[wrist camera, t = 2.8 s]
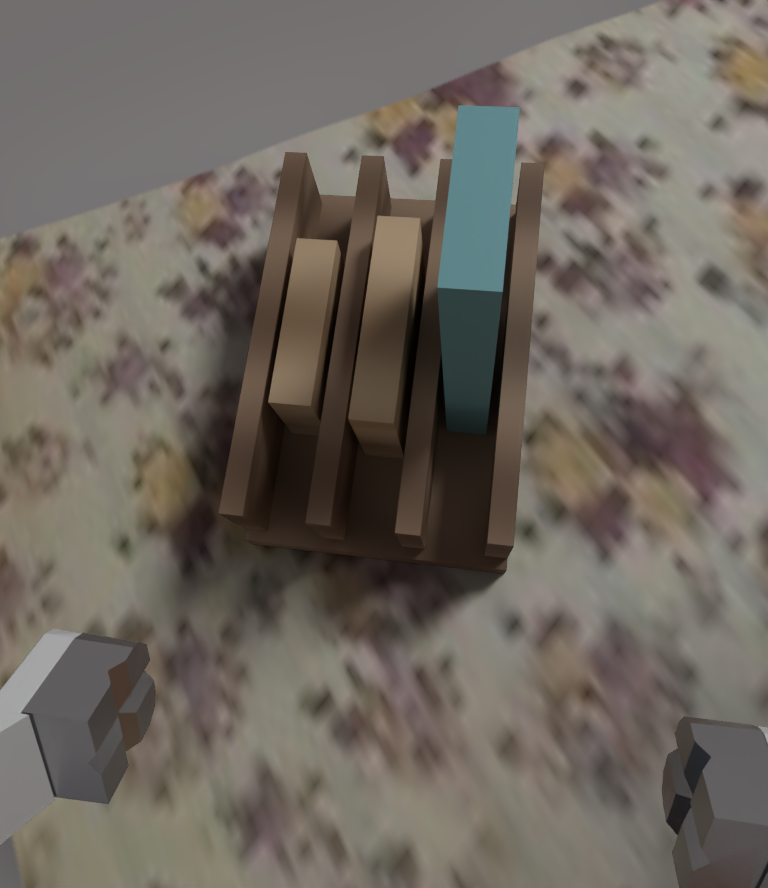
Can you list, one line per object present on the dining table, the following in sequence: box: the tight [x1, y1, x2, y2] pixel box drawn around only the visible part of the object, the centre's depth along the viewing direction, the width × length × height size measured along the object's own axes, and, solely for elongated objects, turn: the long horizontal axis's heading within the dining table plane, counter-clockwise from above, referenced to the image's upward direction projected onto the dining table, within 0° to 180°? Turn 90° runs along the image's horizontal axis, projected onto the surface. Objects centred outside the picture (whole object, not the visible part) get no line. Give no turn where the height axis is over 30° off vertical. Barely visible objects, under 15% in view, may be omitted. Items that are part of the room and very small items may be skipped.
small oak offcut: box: [268, 238, 345, 436], centre depth 33 cm, size 8×2×4 cm, turn 173°
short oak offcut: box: [348, 216, 426, 459], centre depth 32 cm, size 9×2×6 cm, turn 173°
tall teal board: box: [437, 106, 520, 435], centre depth 28 cm, size 6×2×14 cm, turn 173°
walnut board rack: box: [219, 152, 544, 573], centre depth 34 cm, size 18×12×6 cm, turn 173°
